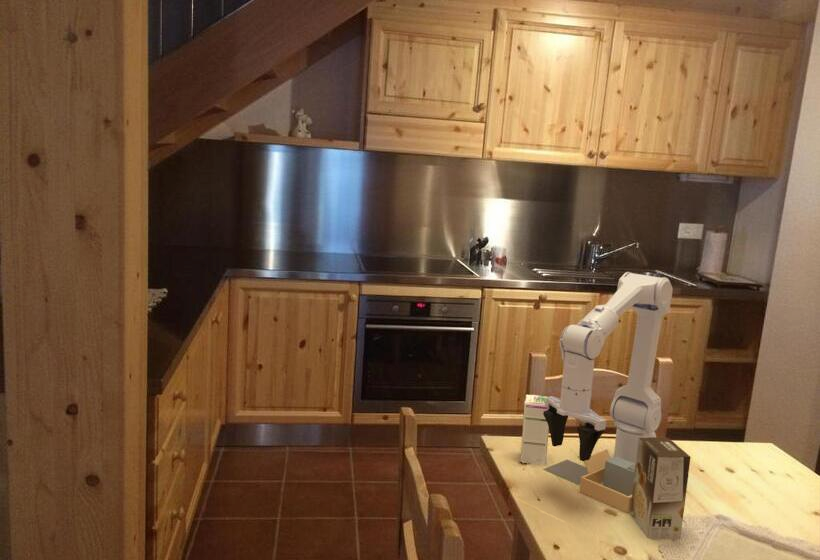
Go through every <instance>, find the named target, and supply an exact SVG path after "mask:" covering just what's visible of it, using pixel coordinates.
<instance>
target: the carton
mask: <svg viewBox="0 0 820 560" xmlns="http://www.w3.org/2000/svg"><path fill="white" fill-rule="evenodd" d="M610 458H611V456H610V453H609V451H608V449H604V450H602V451H600V452H597V453H595V454H593V455H592V454H591V457H590V459H589V460H586V461H582V462H583V463H584V467H586V469H587V471H588V473H589V474H587V475H585V476H582V477H581V479H580V484H579V488H578V489H579V490H578V491H579V493H581V494H584V495H586V496H587V497H590V498H593V499H595V500H597V501H599V502H601V503H604V504H605V505H608V506H611V507H612V508H615V509H617V510H618V511H619V510H620V511H622V512H623V513H626V514H630V512H631V503H632V495H630V496H626V495H624V494H622V493H619V492H617V491H615V490H612V489H610V488H608V487H605V486H603V479H604V470H605V461H606V460H608V459H610Z"/></svg>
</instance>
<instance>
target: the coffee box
mask: <svg viewBox="0 0 820 560" xmlns="http://www.w3.org/2000/svg"><path fill="white" fill-rule="evenodd" d="M691 457H692V456H690V455H689V454H688V453H687V452H685V451H684V450H683V449H682V448H681V447H679V445H677V444H676V443H675V442H674V441H673V440H672V439H671V438H669V437H658V436H656V437H649V438H638V447H637V456H636V465H635V475H634V484H633V494H632V503H631V512H629V514H630V517H631V518H632V519H633V522H635V523H636V525H637V526H638V527H639V528H640V530H641V531H642V532H643V534H644V535H645V536H646V537H647V538H648V539H650V540H680V539H681V537H682V528H683V522H684V521H683V519H684V512H685V505H686V496H687V489H688V480H689V472H690V465H691V464H690V463H691Z"/></svg>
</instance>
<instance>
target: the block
mask: <svg viewBox="0 0 820 560" xmlns="http://www.w3.org/2000/svg"><path fill="white" fill-rule="evenodd" d="M635 465H636V464H635V463H633V462H630V461H627V460H625V459H622V458H619V457H617V456H615V457H614V456H612V457H610V459H608V460H606V461H605V470H604V479H603V486H605V487H608V488H610V489H612V490H615V491H617V492H619V493H622V494H624V495H626V496H630V495H632V494H633V484H634V475H635Z"/></svg>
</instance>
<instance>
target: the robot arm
mask: <svg viewBox="0 0 820 560" xmlns="http://www.w3.org/2000/svg"><path fill="white" fill-rule="evenodd" d="M672 296H673V286H672V283H671V281H670V279H669V278H667V277H659V276H653V275H647V274H640V273H639V274H638V273H635V272H634V273H633V272H630V271H626V272H625V273H623V275H622V276H621V277H619V279H618V283H617V288H616V291H615V293H614V294H613V295H612V296H611V297H610V298H609V300H608V301H607V302H606V303H605V304H599V305H598V304H597V305H596V306H595V307H593V309H592V310H591V311H589V312H588V313H587V314H586V315H585V316H584V317H583V318H582V319H581V320H580V321H578V323H577V324H570V325H567V326H566V327H565V328H564V329H563V330H562V332H561V335H560V339H559V344H558V345H559V349H560V351H561V357H560V359H561V361H562V362H563V368H562V379H561V393H560V398H559V397H555V396H554V395H553V396H552V395H551V396H546V398H545V407H548V408H549V409H548V410H546V411H544V413H543V415H544V417H545V419H546V421H547V423H548V427H549V434H550V435H549V436H550V440H551V445H552V446H553V447H559V446H562V445H563V442H564V436H565V429H566V424H567V421H568V418H569V417H571V418H573V419H575V420H577V421H580V422H581V423H583V424H585V425H579V426H576V429H577V432H578V433H577V434H578V438H579V453H578V455H579V461H581V462H583V461H586V460H589V459H590V457H591V456H592V454H593V451H594V450H595V446H596V445H597V443H598V441H599V439H600V438H601V437H602V435H603V434H604V432H605V431H606V426H607V419H605V418H604V417H602V416H600V415H599V414H597V413H596V412H595V411H594V410H592V409H591V401H592V400H591V399H592V391H593V382H594V381H593V380H594V379H593V378H594V369H595V360H596V358H597V357H598V356H599V355H600V353H601V351H602V348H603V346H604V344H605V342H606V338H607V337H608V336H609V335H610V334H611V333H613V331H614V330H615V329H617V327H618V326H619V322H620V321H619V317H620V316H622V315H623V314H624V313H625V312H627V311H628V310H629V309H632V310H633V311H634V312H635V313H636V315H637V319H636V320H637V321H636V327H635V333H634V339H633V345H632V352H631V359H630V364H629V368H628V377H627V383H626V384H625V385H622V386H620V387H619V388H617V389H616V390H615V392H614V396H613V400H612V402H611V403H610V409H609V414H610V418H611V420H612V421H613V422H614V424H613V425H614V426H615V427H616V432H615V433H616V434H615V444H614V449H613V450H614V452H613V457H615V456H617V457H619V458H622V459H625V460H627V461H630V462H633V463H635V464H636V456H637V447H638V438H649V437H657V435H656V432H655V431H656V430H657V429H658V428H659V426H660V424H661V421H662V398H661V397H660V396H659V395H658V394H657V392H655V391H654V390H653V388H652V387H651V386H652V382H653V381H652V380H653V374H654V368H655V363H656V358H657V357H656V356H657V349H658V343H659V338H660V337H659V336H660V332H661V325H662V319H663V316H667V315H669V312H670V309H671V303H672Z"/></svg>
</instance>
